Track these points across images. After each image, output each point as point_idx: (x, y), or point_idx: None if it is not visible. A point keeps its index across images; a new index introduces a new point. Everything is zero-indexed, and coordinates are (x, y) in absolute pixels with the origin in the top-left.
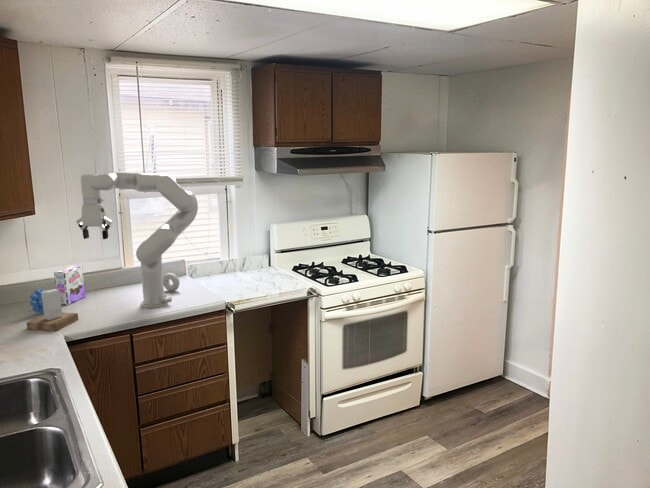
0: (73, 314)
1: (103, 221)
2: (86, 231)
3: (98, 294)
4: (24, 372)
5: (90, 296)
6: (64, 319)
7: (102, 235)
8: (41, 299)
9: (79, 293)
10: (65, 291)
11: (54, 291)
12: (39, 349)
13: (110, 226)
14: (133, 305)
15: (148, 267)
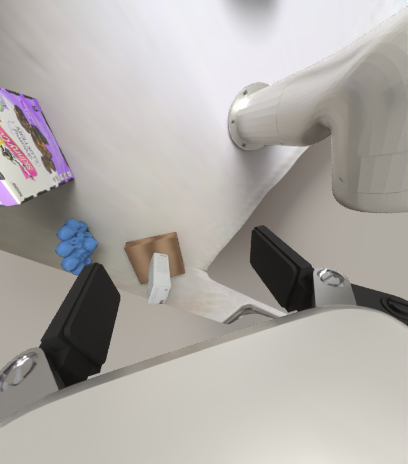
0: (175, 242)
1: (388, 397)
2: (93, 335)
3: (41, 55)
4: (229, 315)
5: (42, 87)
6: (180, 259)
7: (262, 280)
8: (84, 252)
9: (39, 127)
10: (55, 187)
11: (168, 293)
12: (207, 296)
13: (392, 295)
14: (215, 138)
15: (321, 139)
